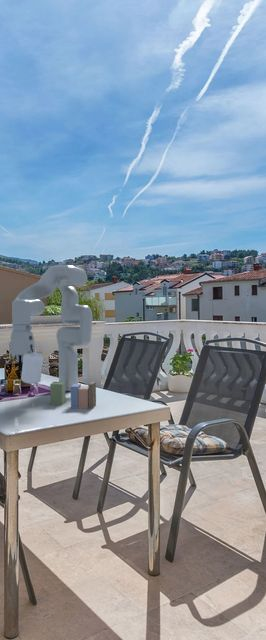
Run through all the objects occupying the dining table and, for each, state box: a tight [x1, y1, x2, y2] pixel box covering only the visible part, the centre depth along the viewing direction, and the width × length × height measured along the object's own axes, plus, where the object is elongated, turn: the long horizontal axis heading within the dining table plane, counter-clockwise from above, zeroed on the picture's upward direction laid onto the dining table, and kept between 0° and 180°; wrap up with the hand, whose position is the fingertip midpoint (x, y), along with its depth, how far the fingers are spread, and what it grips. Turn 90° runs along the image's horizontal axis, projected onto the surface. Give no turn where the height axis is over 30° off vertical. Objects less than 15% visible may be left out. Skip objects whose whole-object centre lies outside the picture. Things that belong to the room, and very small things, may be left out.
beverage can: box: [20, 351, 44, 385], centre depth 213 cm, size 8×8×12 cm
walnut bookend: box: [87, 381, 97, 409], centre depth 213 cm, size 7×2×10 cm, turn 175°
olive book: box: [49, 381, 66, 406], centre depth 220 cm, size 6×5×9 cm
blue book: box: [70, 383, 82, 409], centre depth 214 cm, size 6×3×9 cm, turn 175°
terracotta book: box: [77, 385, 90, 409], centre depth 213 cm, size 6×4×8 cm, turn 175°
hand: (22, 371), depth 217 cm, fingers closed
